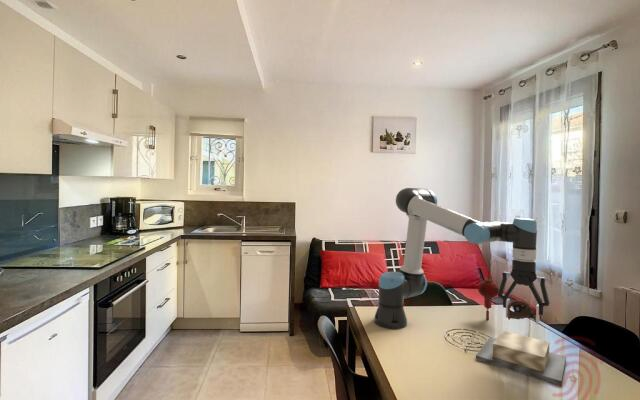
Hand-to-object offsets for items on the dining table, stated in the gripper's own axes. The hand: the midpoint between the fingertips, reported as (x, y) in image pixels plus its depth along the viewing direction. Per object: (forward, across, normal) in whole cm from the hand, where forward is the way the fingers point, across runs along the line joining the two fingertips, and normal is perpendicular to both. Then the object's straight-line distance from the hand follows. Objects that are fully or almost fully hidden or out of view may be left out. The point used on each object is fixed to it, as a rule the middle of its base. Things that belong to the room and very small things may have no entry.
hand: (522, 319), depth 126 cm
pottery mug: (0, -1, 0) cm, 1 cm away
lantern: (+15, -20, +37) cm, 45 cm away
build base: (+15, 0, 0) cm, 15 cm away
